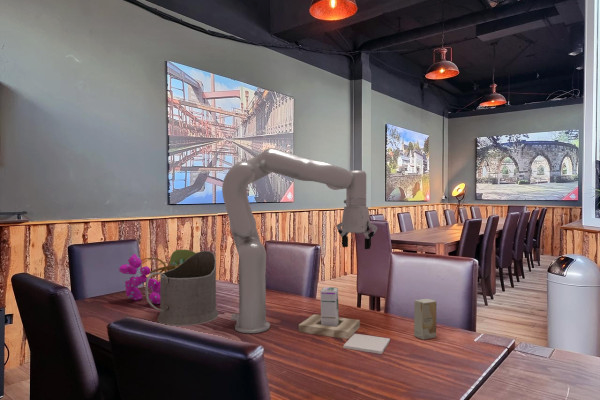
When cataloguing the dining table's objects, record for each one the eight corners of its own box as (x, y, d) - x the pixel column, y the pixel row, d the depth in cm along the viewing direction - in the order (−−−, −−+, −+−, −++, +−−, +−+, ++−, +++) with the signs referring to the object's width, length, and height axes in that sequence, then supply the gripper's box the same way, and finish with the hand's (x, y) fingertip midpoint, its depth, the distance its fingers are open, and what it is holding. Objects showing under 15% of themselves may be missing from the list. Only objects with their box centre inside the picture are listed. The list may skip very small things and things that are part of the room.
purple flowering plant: (203, 233, 192) (140, 251, 163) (220, 289, 192) (160, 317, 163) (165, 245, 209) (103, 263, 180) (181, 296, 208) (121, 324, 179)
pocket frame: (298, 331, 138) (298, 324, 138) (314, 320, 151) (314, 314, 151) (348, 339, 131) (348, 331, 131) (359, 326, 143) (359, 320, 143)
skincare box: (423, 340, 129) (422, 303, 129) (413, 336, 133) (413, 300, 133) (437, 337, 132) (437, 300, 132) (427, 333, 136) (427, 297, 136)
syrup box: (337, 332, 137) (337, 290, 137) (320, 331, 138) (320, 290, 138) (338, 327, 143) (338, 287, 143) (322, 326, 144) (322, 286, 144)
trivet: (343, 347, 123) (343, 345, 123) (354, 335, 134) (354, 333, 134) (381, 354, 118) (381, 351, 118) (390, 341, 129) (390, 338, 129)
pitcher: (230, 313, 161) (230, 252, 161) (168, 336, 134) (168, 263, 134) (189, 306, 173) (189, 248, 173) (125, 326, 145) (125, 258, 145)
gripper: (331, 202, 153) (331, 247, 153) (372, 203, 142) (372, 250, 142) (342, 202, 158) (341, 245, 158) (381, 203, 148) (381, 248, 148)
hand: (356, 247), depth 150 cm, fingers open, 9 cm apart
